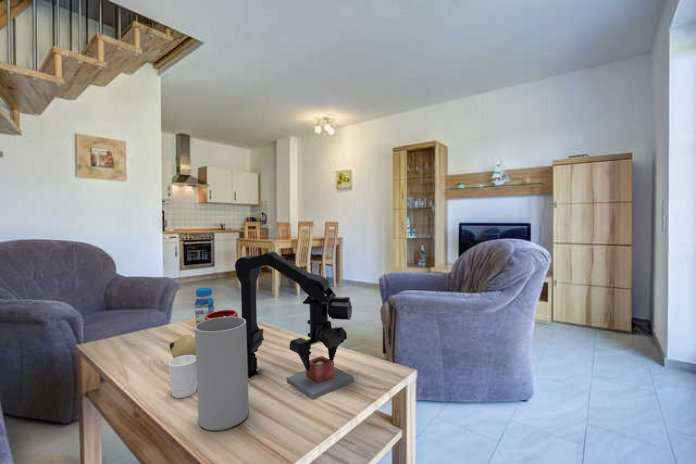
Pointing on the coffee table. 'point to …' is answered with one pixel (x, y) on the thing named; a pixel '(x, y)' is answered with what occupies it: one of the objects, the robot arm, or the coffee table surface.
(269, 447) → the coffee table surface
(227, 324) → the cylinder vase
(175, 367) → the white cup
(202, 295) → the beverage bottle
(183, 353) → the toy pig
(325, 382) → the flat gray board
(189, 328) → the coffee table surface
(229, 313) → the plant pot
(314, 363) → the red square tube
